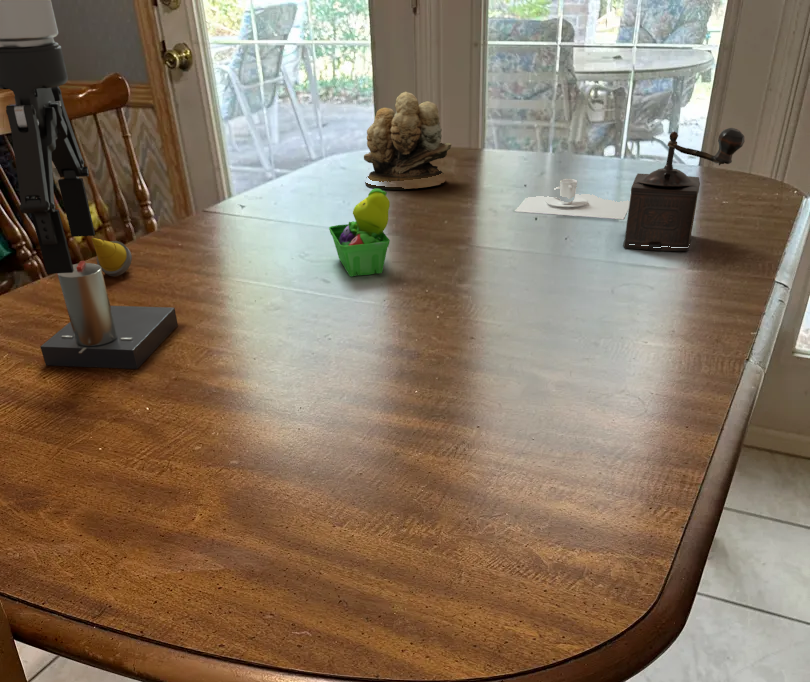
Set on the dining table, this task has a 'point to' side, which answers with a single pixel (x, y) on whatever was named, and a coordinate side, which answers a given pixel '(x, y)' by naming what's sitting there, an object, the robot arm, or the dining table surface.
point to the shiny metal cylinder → (88, 304)
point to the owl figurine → (405, 142)
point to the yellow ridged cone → (112, 256)
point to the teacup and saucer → (574, 204)
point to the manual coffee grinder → (671, 198)
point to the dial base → (128, 351)
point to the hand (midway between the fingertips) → (72, 253)
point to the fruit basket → (364, 236)
